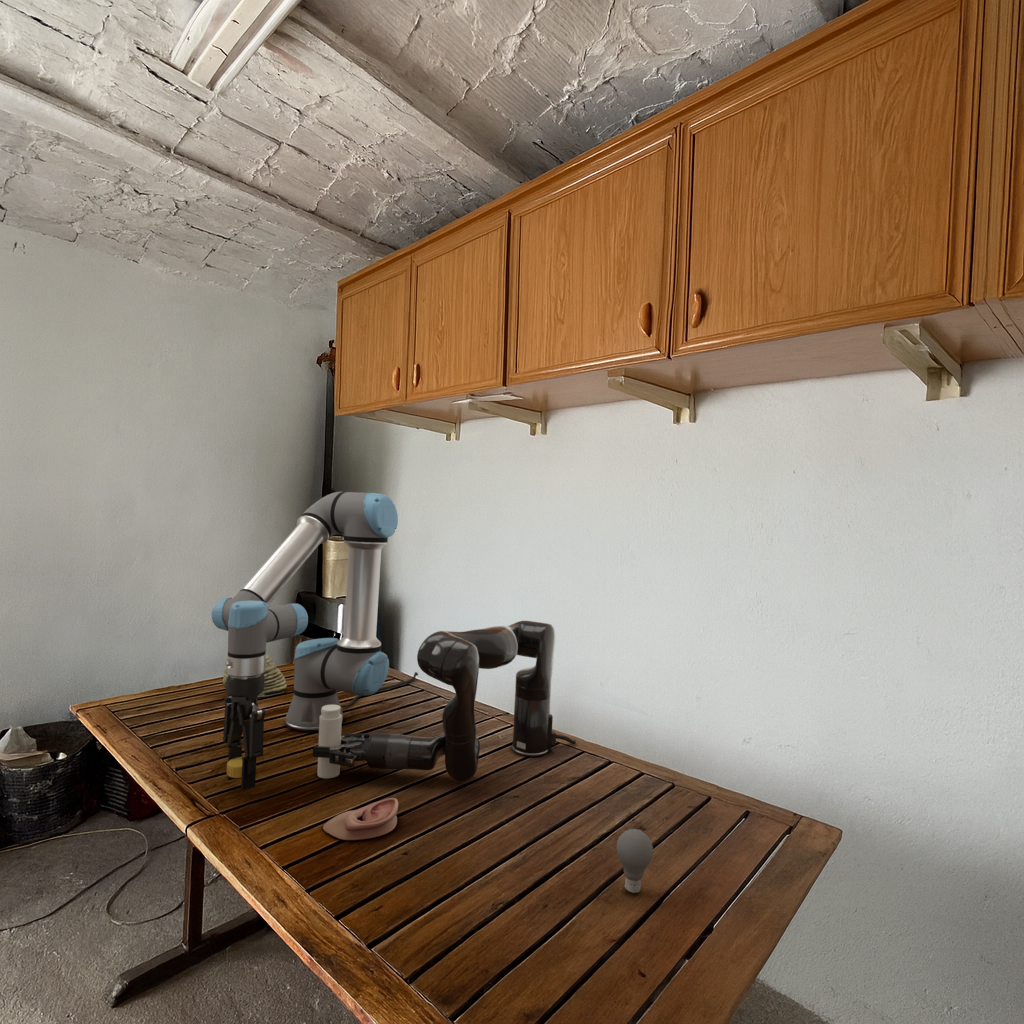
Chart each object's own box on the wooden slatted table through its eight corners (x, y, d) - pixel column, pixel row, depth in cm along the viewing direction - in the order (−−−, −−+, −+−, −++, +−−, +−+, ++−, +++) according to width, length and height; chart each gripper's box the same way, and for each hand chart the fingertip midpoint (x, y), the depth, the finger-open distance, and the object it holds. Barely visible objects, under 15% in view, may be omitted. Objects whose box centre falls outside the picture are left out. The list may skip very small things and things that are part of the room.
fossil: (218, 695, 195) (220, 647, 195) (278, 685, 208) (279, 640, 207) (228, 703, 189) (230, 653, 188) (289, 692, 201) (290, 645, 201)
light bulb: (610, 879, 108) (613, 822, 108) (644, 879, 109) (647, 822, 109) (619, 902, 102) (622, 840, 102) (655, 901, 103) (658, 840, 103)
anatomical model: (315, 814, 118) (343, 787, 129) (314, 835, 118) (343, 807, 129) (382, 825, 115) (405, 796, 127) (381, 846, 116) (404, 816, 127)
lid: (249, 778, 132) (249, 767, 132) (221, 777, 132) (222, 766, 132) (260, 767, 138) (260, 756, 138) (233, 766, 138) (233, 755, 138)
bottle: (312, 775, 144) (315, 708, 144) (328, 767, 148) (330, 702, 148) (328, 780, 142) (331, 712, 141) (344, 772, 146) (346, 706, 146)
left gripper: (208, 668, 138) (203, 774, 138) (249, 687, 126) (244, 803, 126) (242, 663, 144) (237, 764, 144) (284, 680, 132) (279, 791, 132)
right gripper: (399, 724, 151) (329, 719, 152) (384, 747, 137) (306, 742, 138) (398, 755, 151) (328, 750, 152) (382, 781, 137) (305, 776, 138)
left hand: (241, 782), depth 135 cm, fingers closed on lid, 6 cm apart
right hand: (318, 746), depth 145 cm, fingers closed on bottle, 5 cm apart
